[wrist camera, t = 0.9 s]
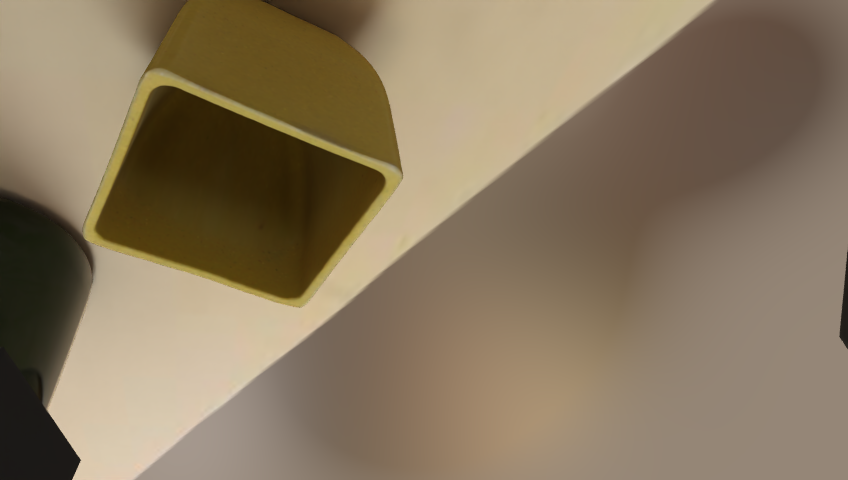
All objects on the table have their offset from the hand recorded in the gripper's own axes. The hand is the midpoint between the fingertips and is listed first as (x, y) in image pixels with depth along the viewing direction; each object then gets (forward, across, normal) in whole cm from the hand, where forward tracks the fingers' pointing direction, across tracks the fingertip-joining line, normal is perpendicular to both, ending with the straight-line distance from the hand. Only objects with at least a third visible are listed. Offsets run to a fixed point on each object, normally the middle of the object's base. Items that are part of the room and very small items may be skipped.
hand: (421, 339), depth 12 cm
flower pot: (+23, -7, -2) cm, 24 cm away
